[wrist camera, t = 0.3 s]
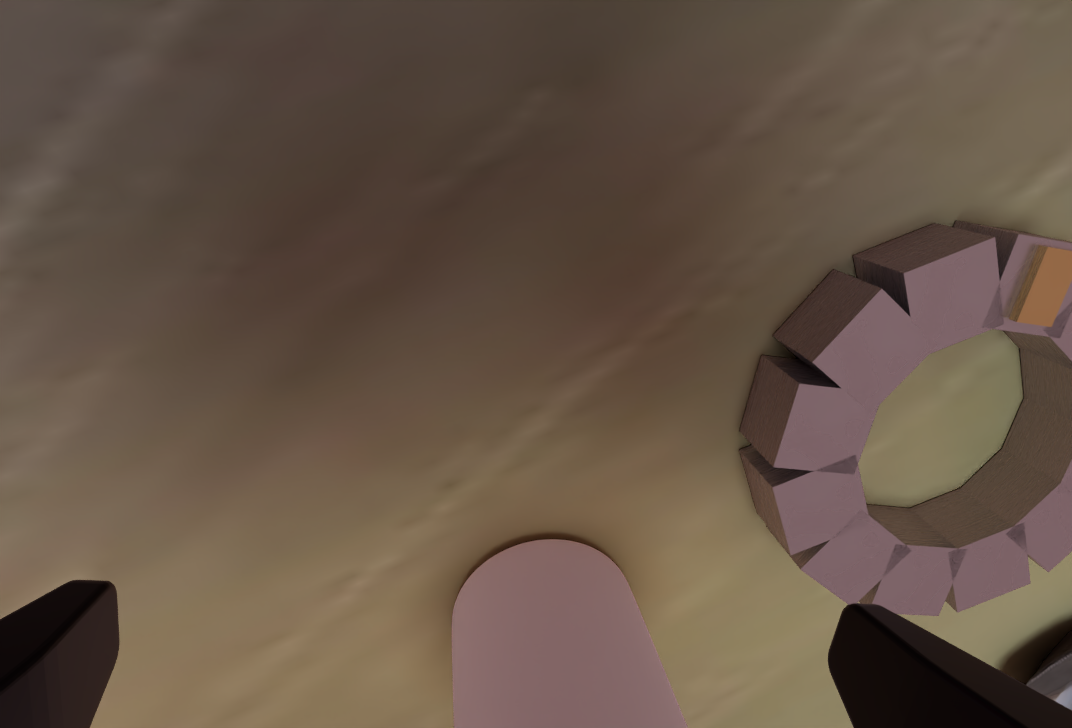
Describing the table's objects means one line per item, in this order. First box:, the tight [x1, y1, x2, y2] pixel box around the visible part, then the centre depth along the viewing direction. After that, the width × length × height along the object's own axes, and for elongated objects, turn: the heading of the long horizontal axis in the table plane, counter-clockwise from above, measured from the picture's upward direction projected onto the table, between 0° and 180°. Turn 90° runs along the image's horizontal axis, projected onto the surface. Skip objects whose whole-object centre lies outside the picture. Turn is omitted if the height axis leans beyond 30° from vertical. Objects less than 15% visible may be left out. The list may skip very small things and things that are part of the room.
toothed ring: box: [739, 221, 1072, 616], centre depth 23 cm, size 13×13×3 cm
